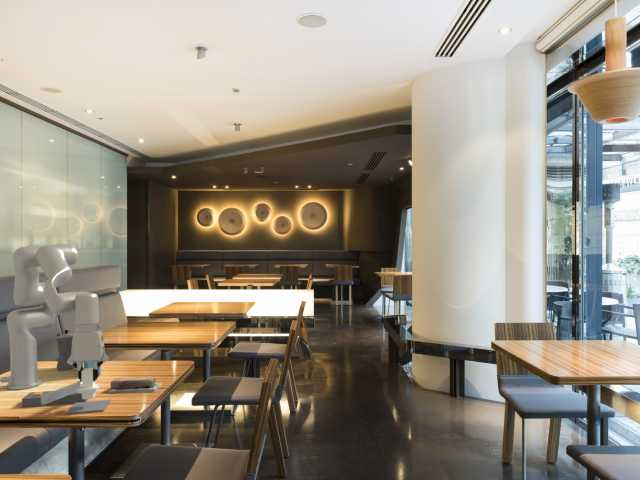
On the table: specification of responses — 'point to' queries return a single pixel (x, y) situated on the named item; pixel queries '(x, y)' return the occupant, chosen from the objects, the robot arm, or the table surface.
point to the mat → (88, 407)
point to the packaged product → (134, 385)
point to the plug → (88, 384)
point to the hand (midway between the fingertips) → (88, 380)
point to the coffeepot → (64, 350)
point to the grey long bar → (60, 393)
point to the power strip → (35, 400)
